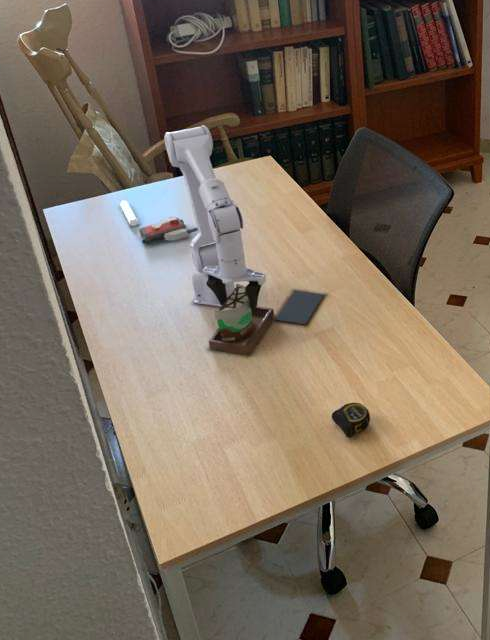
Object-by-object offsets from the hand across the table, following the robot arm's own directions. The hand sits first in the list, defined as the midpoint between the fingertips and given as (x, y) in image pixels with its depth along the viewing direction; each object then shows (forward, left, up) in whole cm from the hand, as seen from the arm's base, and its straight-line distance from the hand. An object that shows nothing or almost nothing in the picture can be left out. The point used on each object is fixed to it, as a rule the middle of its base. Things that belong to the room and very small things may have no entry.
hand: (239, 305), depth 185 cm
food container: (0, 0, -8) cm, 8 cm away
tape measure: (+35, -25, -8) cm, 44 cm away
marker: (-59, +46, -8) cm, 75 cm away
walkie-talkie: (-39, +39, -6) cm, 55 cm away
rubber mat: (+9, +13, -8) cm, 18 cm away
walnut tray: (0, 0, -8) cm, 8 cm away
